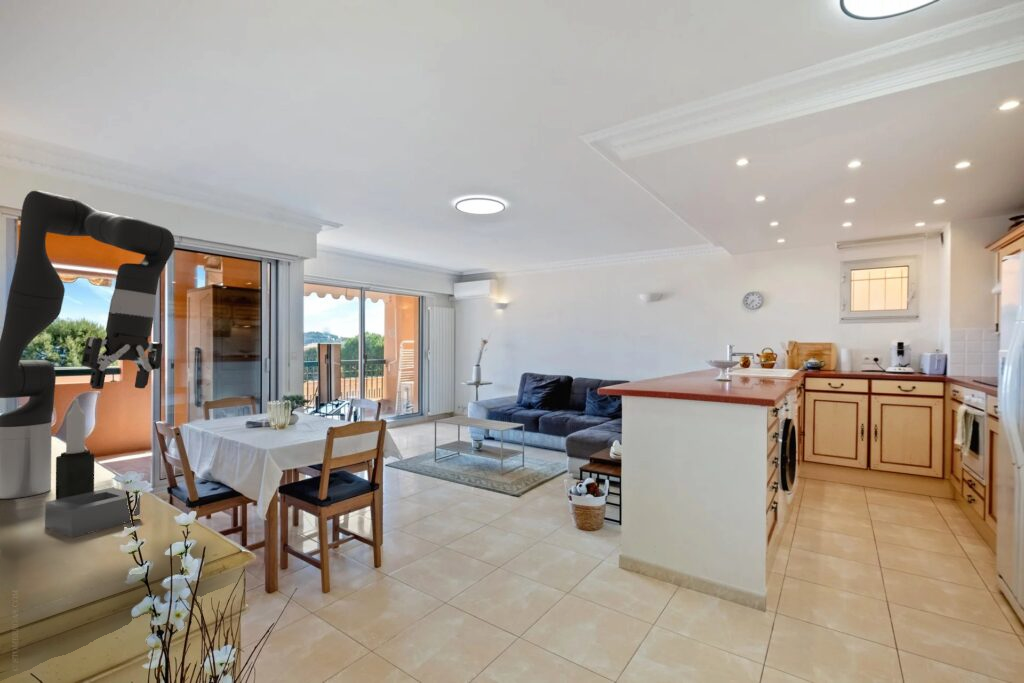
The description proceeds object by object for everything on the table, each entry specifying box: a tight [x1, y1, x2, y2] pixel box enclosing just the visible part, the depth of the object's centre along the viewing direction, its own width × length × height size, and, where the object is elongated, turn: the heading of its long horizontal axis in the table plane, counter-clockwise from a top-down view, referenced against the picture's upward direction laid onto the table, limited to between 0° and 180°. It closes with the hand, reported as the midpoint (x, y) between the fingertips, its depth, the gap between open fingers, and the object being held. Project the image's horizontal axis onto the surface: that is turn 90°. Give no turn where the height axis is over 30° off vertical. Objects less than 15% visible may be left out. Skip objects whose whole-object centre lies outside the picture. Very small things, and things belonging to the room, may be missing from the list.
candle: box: [55, 398, 95, 500], centre depth 101 cm, size 5×5×25 cm
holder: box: [44, 487, 141, 538], centre depth 95 cm, size 12×11×5 cm
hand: (119, 388), depth 99 cm, fingers open, 8 cm apart
